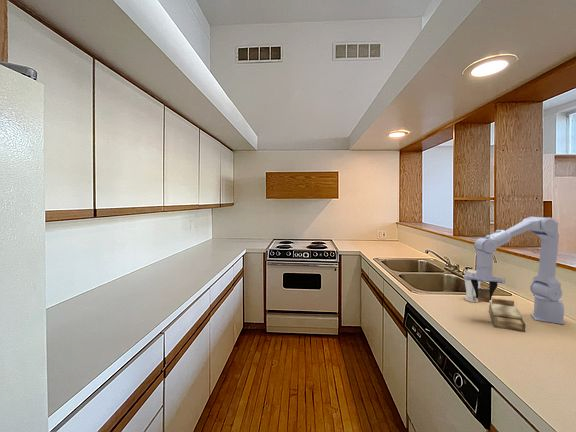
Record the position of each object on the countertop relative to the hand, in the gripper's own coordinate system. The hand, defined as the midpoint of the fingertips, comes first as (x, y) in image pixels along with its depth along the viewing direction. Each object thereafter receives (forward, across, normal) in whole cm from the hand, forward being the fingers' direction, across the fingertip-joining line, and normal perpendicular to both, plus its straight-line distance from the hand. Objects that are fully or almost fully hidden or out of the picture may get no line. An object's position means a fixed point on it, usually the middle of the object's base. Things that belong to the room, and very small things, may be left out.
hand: (483, 298), depth 130 cm
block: (+1, 0, 0) cm, 1 cm away
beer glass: (+10, -2, +28) cm, 30 cm away
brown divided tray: (+9, +8, +4) cm, 13 cm away
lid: (+6, +9, +6) cm, 12 cm away
